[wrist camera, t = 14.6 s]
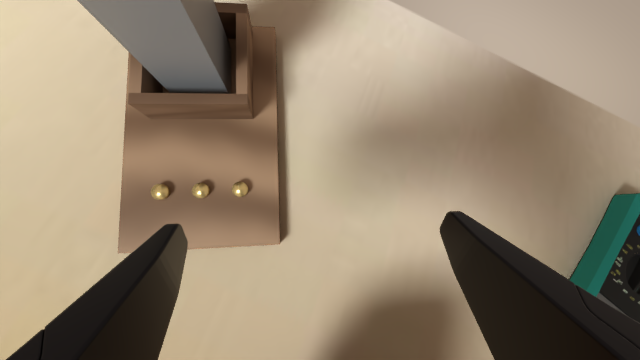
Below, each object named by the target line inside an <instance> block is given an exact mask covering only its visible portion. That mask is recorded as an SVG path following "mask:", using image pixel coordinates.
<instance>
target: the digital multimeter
mask: <svg viewBox="0 0 640 360" xmlns="http://www.w3.org/2000/svg"><path fill="white" fill-rule="evenodd" d="M570 281H571V282H573V283H574V284H575V285H578V286H579V287H581V288H583V289H584V290H586V291H587V292H589V293H590V294H592V295H594V296H595V297H597V298H599V299H600V300H602V301H603V302H605V303H607V304H608V305H610V306H611V307H613V308H615V309H616V310H618V311H620V312H622V313H623V314H625V315H627V316H628V317H630V318H632V319H634V320H635V321H637V322H639V323H640V193H637V194H620V195H615V196H614V197H613V199H612V201H611V203H610V205H609V207H608V209H607V211H606V213H605V216H604V218H603V220H602V222H601V223H600V225H599V227H598V229H597V231H596V233H595V235H594V237H593V239H592V241H591V243H590V245H589V247H588V248H587V250H586V252H585V254H584V255H583V257H582V259H581V261H580V262H579V264H578V266H577V268H576V270H575V271H574V273H573V275H572V277H571V278H570Z"/></svg>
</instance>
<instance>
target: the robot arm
mask: <svg viewBox="0 0 640 360" xmlns="http://www.w3.org/2000/svg"><path fill="white" fill-rule="evenodd" d="M440 234H441V237H442V240H443V243H444V246H445V249H446V252H447V254H448V257H449V260H450V263H451V266H452V269H453V271H454V274H455V276H456V278H457V280H458V283H459V285H460V287H461V289H462V291H463V293H464V295H465V297H466V300H467V302H468V304H469V306H470V308H471V310H472V312H473V315H474V317H475V319H476V321H477V323H478V325H479V327H480V330H481V332H482V334H483V336H484V338H485V340H486V342H487V344H488V347H489V349H490V351H491V353H492V355H493V357H494V359H495V360H640V323H639V322H637V321H635V320H634V319H632V318H630V317H628V316H627V315H625V314H623V313H622V312H620V311H618V310H616V309H615V308H613V307H611V306H610V305H608V304H607V303H605V302H603V301H602V300H600V299H599V298H597V297H595V296H594V295H592V294H590V293H589V292H587V291H586V290H584V289H583V288H581V287H579V286H578V285H575V284H574V283H573V282H571V281H570V280H568V279H567V278H565V277H564V276H562V275H560V274H559V273H557V272H556V271H554V270H553V269H551V268H549V267H548V266H546V265H545V264H543V263H542V262H540V261H538V260H537V259H535V258H534V257H532V256H530V255H529V254H527V253H526V252H524V251H523V250H521V249H519V248H518V247H516V246H515V245H513V244H512V243H510V242H508V241H507V240H505V239H504V238H502V237H500V236H499V235H497V234H496V233H494V232H493V231H491V230H489V229H488V228H486V227H485V226H483V225H482V224H480V223H478V222H477V221H475V220H474V219H472V218H470V217H469V216H467V215H466V214H464V213H463V212H460V211H450V212H448V213H447V214H446V216H445V218H444V220H443V222H442V224H441V226H440ZM187 248H188V241H187V238H186V235H185V233H184V231H183V228H182V226H181V225H180V224H178V223H176V224H166V225H164V226H162V227H161V228H160V229H159V230H158V231H157V232H155V233H154V234H153V235H152V236H151V237H150V238H148V239H147V240H146V241H145V242H144V243H143V244H141V245H140V246H139V247H138V248H137V249H136V250H134V251H133V252H132V253H131V254H130V255H129V256H127V257H126V258H125V259H124V260H123V261H121V262H120V263H119V264H118V265H117V266H116V267H114V268H113V269H112V270H111V271H110V272H109V273H107V274H106V275H105V276H104V277H103V278H102V279H100V280H99V281H98V282H97V283H96V284H95V285H93V286H92V287H91V288H90V289H89V290H88V291H86V292H85V293H84V294H83V295H82V296H80V297H79V298H78V299H77V300H76V301H75V302H73V303H72V304H71V305H70V306H69V307H68V308H66V309H65V310H64V311H63V312H62V313H61V314H59V315H58V316H57V317H56V318H55V319H54V320H52V321H51V322H50V323H49V324H48V325H47V326H46V327H45V329H43V330H41V331H39V332H38V333H37V334H36V335H35V336H33V337H32V338H31V339H30V340H29V341H28V342H26V343H25V344H24V345H23V346H22V347H20V348H19V349H18V350H17V351H16V352H14V353H13V354H12V355H11V356H10V357H8V358H7V359H6V360H158V357H159V354H160V351H161V348H162V345H163V341H164V338H165V335H166V332H167V329H168V326H169V322H170V319H171V316H172V313H173V310H174V307H175V303H176V300H177V297H178V293H179V289H180V284H181V279H182V274H183V269H184V263H185V258H186V253H187Z"/></svg>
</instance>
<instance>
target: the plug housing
mask: <svg viewBox="0 0 640 360" xmlns="http://www.w3.org/2000/svg"><path fill="white" fill-rule="evenodd" d="M78 1H79V2H80V3H81V4H82V5H83V6H84V7H85V8H86V9H87V10H88V11H89V12H90V13H91V14H92V15H93V16H94V17H95V18H96V19H97V20H98V21H99V22H100V23H101V24H102V25H103V26H104V27H105V28H106V29H107V30H108V31H109V32H110V33H111V34H112V35H113V36H114V37H115V38H116V39H117V40H118V41H119V42H120V43H121V44H122V45H123V46H124V47H125V48H126V49H127V50H128V51H129V52H130V53H131V54H132V55H133V56H134V57H135V58H136V59H137V60H138V61H139V62H140V63H141V64H142V65H143V66H144V67H145V68H146V69H147V70H148V71H149V72H150V73H151V74H152V75H153V76H154V77H155V78H156V79H157V80H158V81H159V82H160V83H161V84H162V85H163V86H164V87H165V88H166V89H167V90H168V91H169V92H170V93H206V94H231V47H230V44H229V42H228V39H227V36H226V33H225V31H224V28H223V25H222V22H221V20H220V17H219V14H218V11H217V9H216V6H215V3H214V0H78Z"/></svg>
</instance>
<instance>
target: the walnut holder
mask: <svg viewBox="0 0 640 360" xmlns="http://www.w3.org/2000/svg"><path fill="white" fill-rule="evenodd" d="M214 3H215V6H216V9H217V11H218V14H219V17H220V20H221V22H222V25H223V28H224V31H225V33H226V36H227V39H228V42H229V44H230V47H231V94H206V93H170V92H169V91H168V90H167V89H166V88H165V87H164V86H163V85H162V84H161V83H160V82H159V81H158V80H157V79H156V78H155V77H154V76H153V75H152V74H151V73H150V72H149V71H148V70H147V69H146V68H145V67H144V66H143V65H142V64H141V63H140V62H139V61H138V60H137V59H136V58H135V57H134V56H133V55H132V54H131V53H130V52H129V58H128V76H127V94H126V112H125V131H124V149H123V167H122V186H121V204H120V222H119V241H118V253H132V252H133V251H134V250H136V249H137V248H138V247H139V246H140V245H141V244H143V243H144V242H145V241H146V240H147V239H148V238H150V237H151V236H152V235H153V234H154V233H155V232H157V231H158V230H159V229H160V228H161V227H162V226H164V225H166V224H176V223H178V224H180V225H181V226H182V228H183V231H184V233H185V235H186V238H187V241H188V248H187V249H204V248H221V247H239V246H257V245H275V244H280V216H279V172H278V128H277V84H276V40H275V27H252V26H251V22H250V17H249V12H248V8H247V4H237V3H216V2H214Z"/></svg>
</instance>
